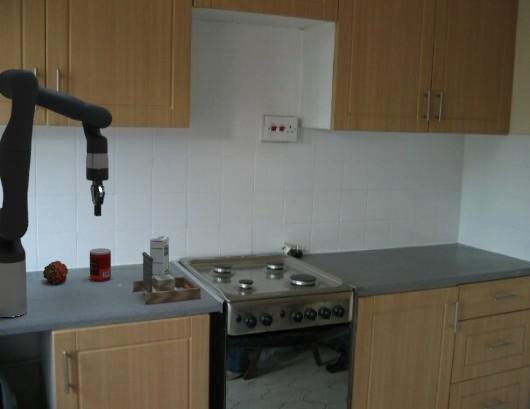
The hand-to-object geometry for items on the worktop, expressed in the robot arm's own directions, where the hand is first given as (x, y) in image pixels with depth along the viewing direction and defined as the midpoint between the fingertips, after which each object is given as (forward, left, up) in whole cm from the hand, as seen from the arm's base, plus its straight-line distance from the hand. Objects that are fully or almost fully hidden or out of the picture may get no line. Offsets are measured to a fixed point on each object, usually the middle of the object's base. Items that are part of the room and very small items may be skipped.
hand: (97, 215), depth 223 cm
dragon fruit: (-12, +17, -27) cm, 34 cm away
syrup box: (+27, +15, -27) cm, 41 cm away
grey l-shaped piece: (+19, -14, -26) cm, 35 cm away
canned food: (+4, +15, -27) cm, 31 cm away
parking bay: (+20, -14, -27) cm, 36 cm away
